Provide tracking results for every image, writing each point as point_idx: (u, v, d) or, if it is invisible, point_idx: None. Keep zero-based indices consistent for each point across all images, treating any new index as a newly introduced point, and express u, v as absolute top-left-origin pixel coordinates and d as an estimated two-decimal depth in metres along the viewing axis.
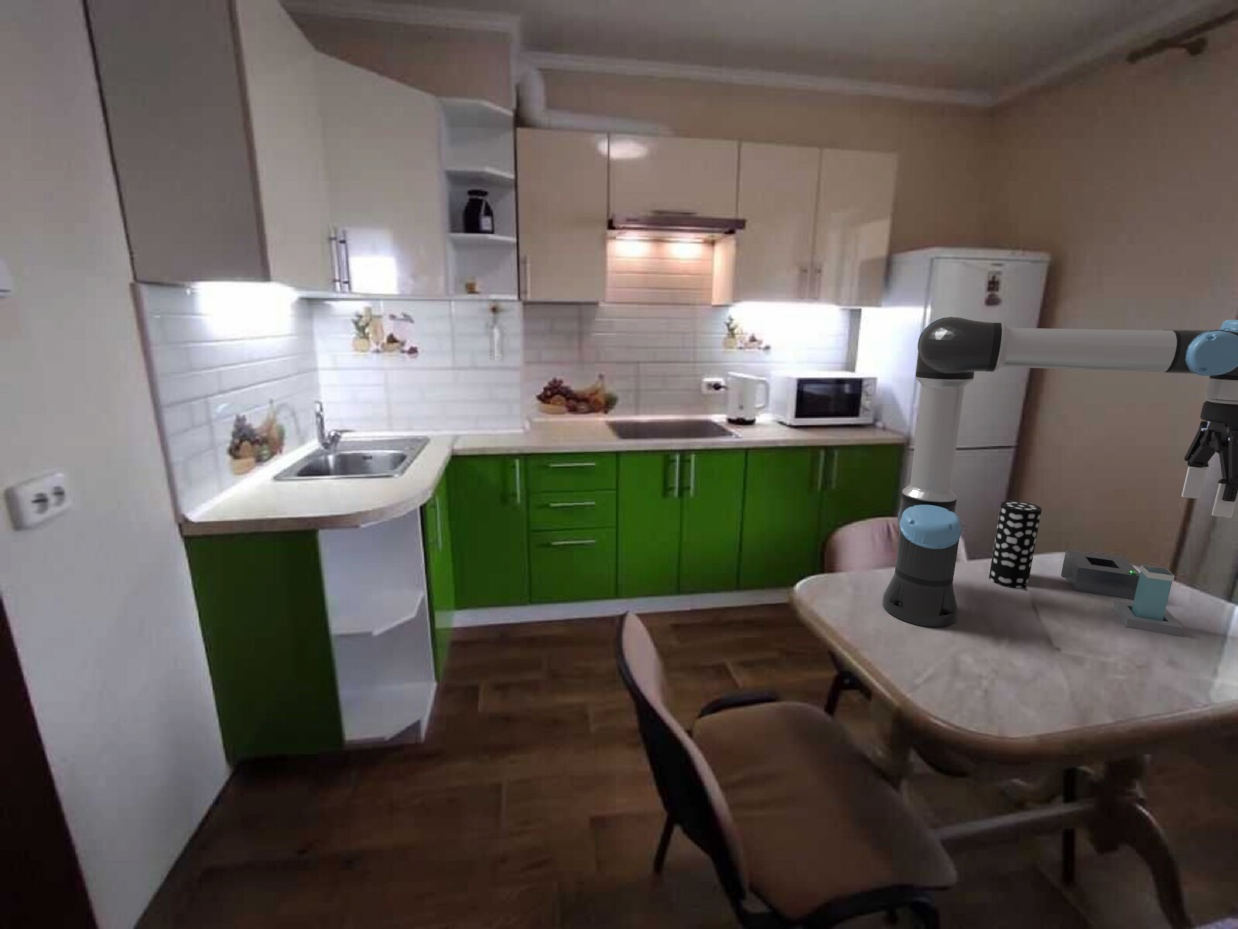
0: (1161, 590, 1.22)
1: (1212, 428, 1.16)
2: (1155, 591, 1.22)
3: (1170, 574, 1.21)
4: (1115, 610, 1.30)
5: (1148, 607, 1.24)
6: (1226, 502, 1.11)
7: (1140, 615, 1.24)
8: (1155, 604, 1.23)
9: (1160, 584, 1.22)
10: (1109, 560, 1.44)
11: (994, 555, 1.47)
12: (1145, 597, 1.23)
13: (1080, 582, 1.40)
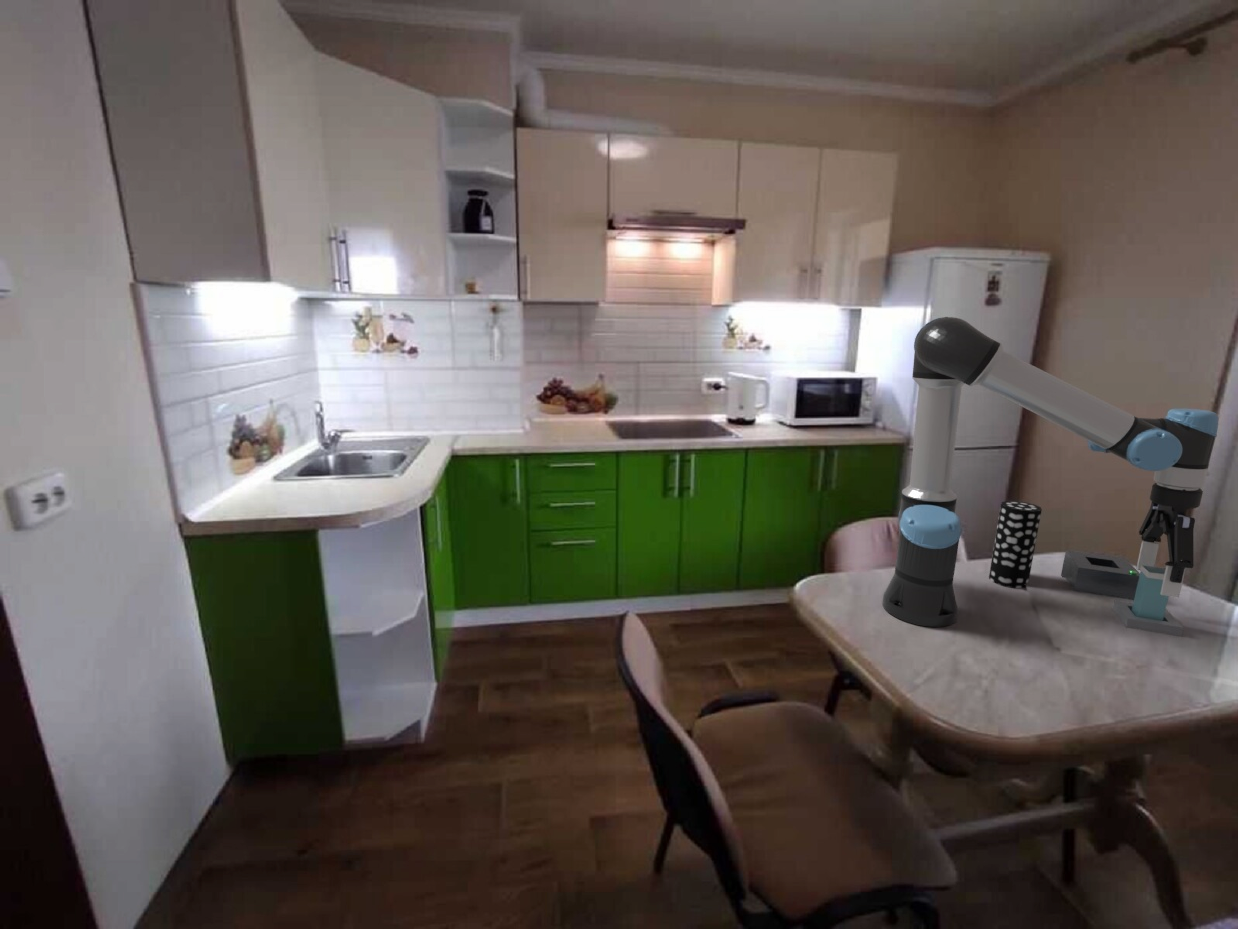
0: None
1: (1161, 509, 1.22)
2: (1155, 591, 1.22)
3: None
4: (1115, 610, 1.30)
5: (1148, 607, 1.24)
6: (1173, 583, 1.17)
7: (1140, 615, 1.24)
8: (1155, 604, 1.23)
9: (1160, 584, 1.22)
10: (1109, 560, 1.44)
11: (994, 555, 1.47)
12: (1145, 597, 1.23)
13: (1080, 582, 1.40)
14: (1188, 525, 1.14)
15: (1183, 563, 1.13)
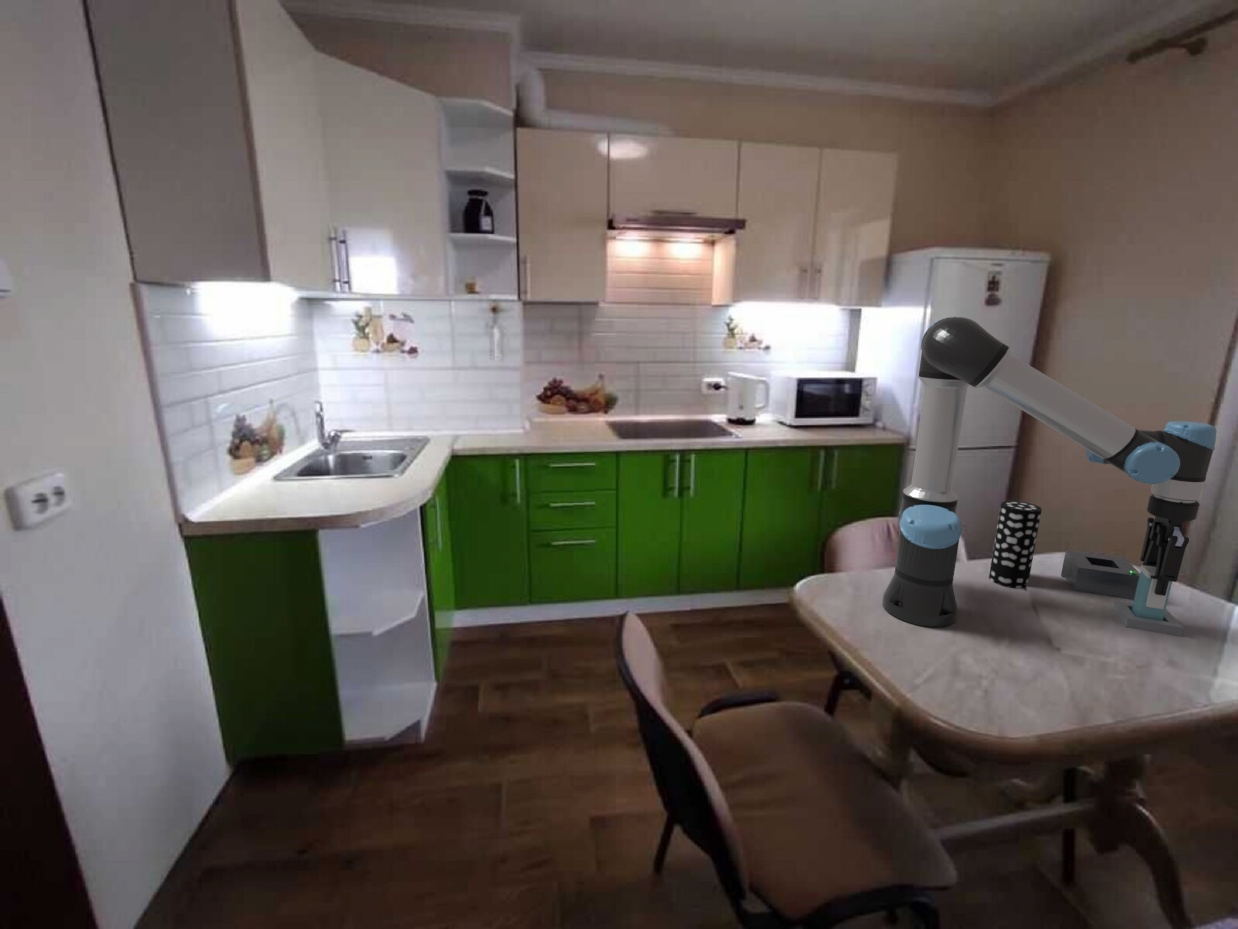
0: None
1: (1157, 521, 1.23)
2: None
3: None
4: (1115, 610, 1.30)
5: (1148, 607, 1.24)
6: (1158, 595, 1.22)
7: (1140, 615, 1.24)
8: None
9: None
10: (1109, 560, 1.44)
11: (994, 555, 1.47)
12: (1145, 597, 1.23)
13: (1080, 582, 1.40)
14: (1181, 544, 1.16)
15: (1167, 578, 1.18)
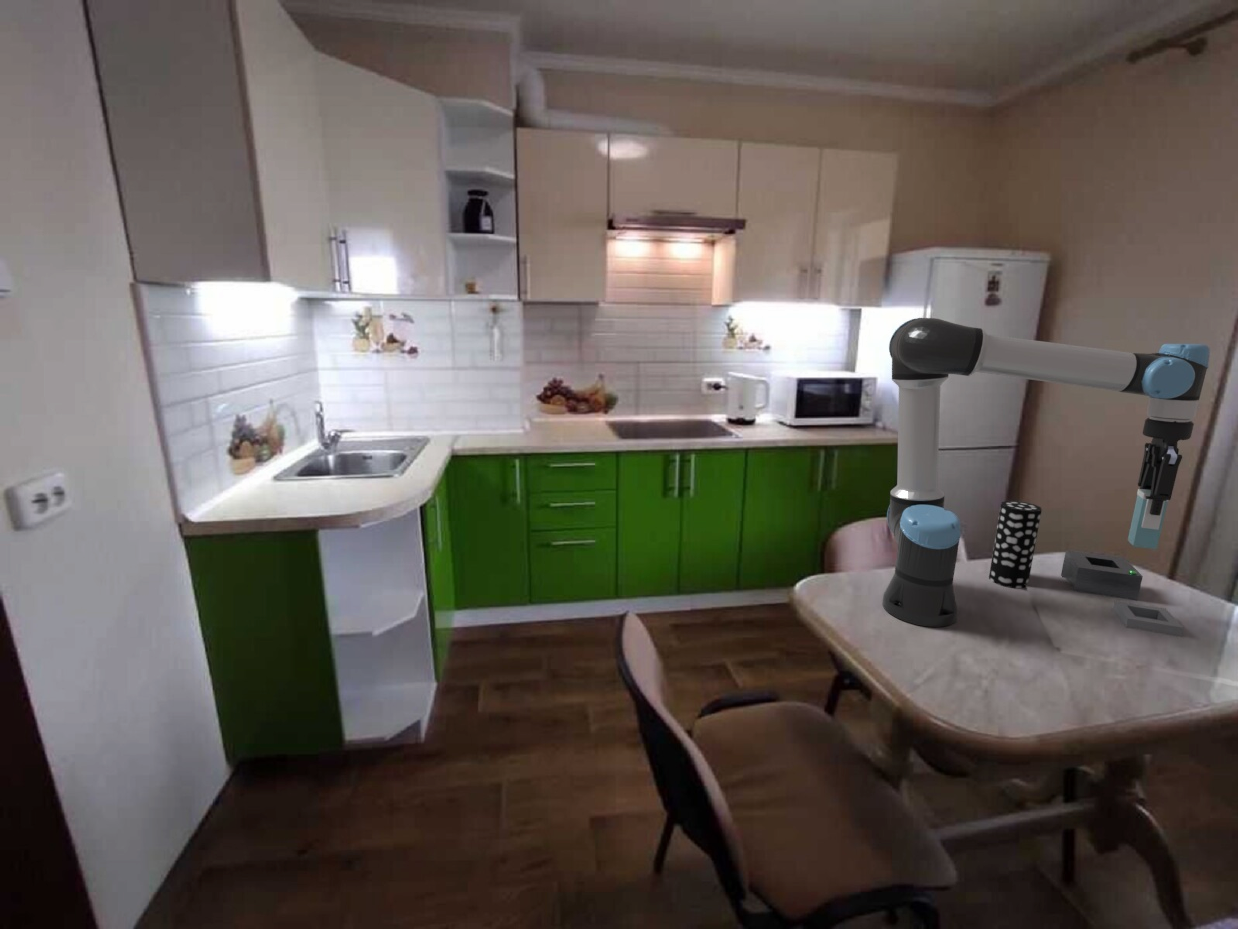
0: None
1: (1153, 444, 1.26)
2: None
3: None
4: (1115, 610, 1.30)
5: (1144, 529, 1.26)
6: (1153, 515, 1.25)
7: (1136, 537, 1.27)
8: None
9: None
10: (1109, 560, 1.44)
11: (994, 555, 1.47)
12: (1141, 519, 1.26)
13: (1080, 582, 1.40)
14: (1174, 462, 1.19)
15: (1161, 496, 1.21)
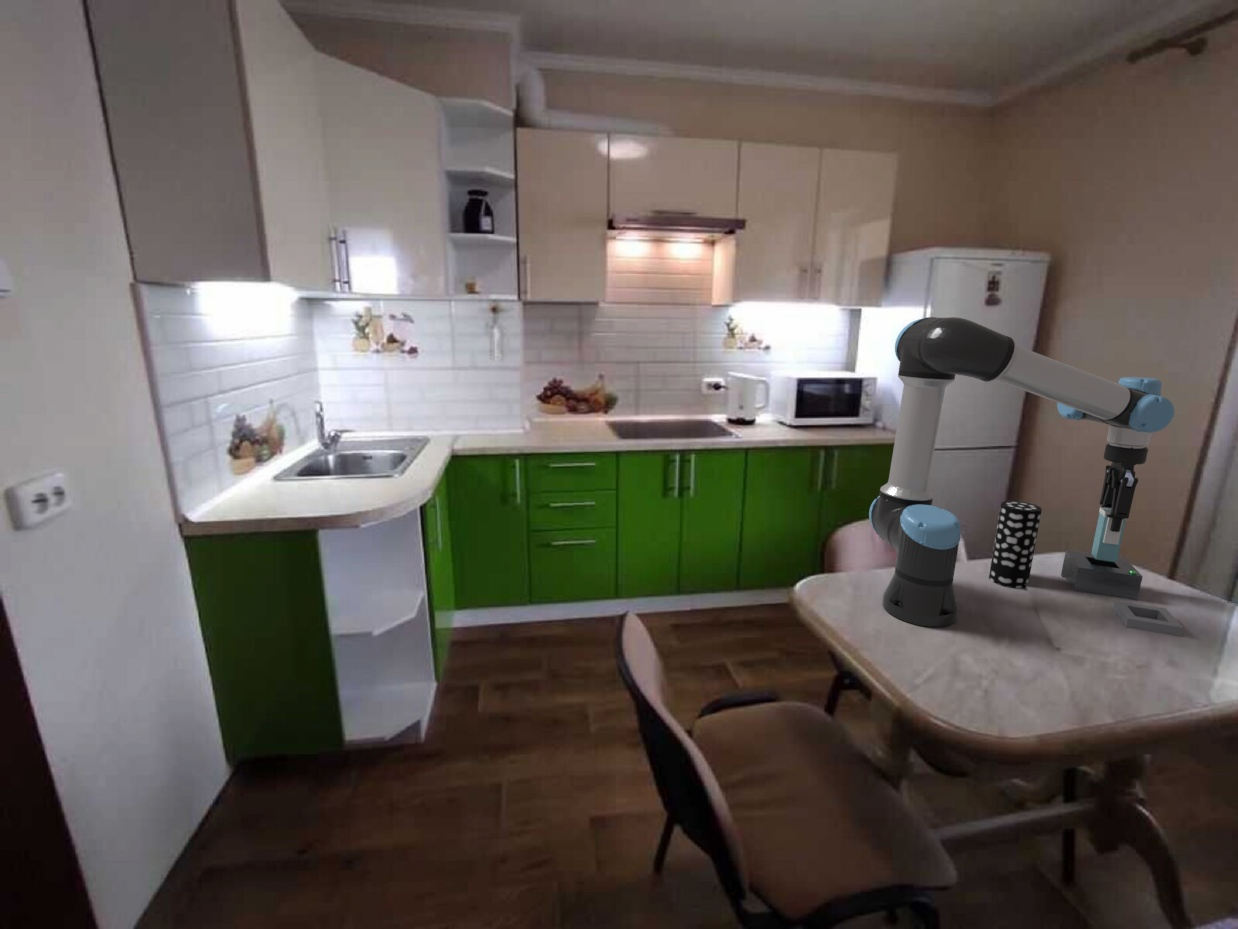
0: None
1: (1113, 467, 1.39)
2: None
3: None
4: (1115, 610, 1.30)
5: (1105, 543, 1.39)
6: (1113, 532, 1.37)
7: (1099, 551, 1.40)
8: None
9: None
10: None
11: (994, 555, 1.47)
12: (1102, 535, 1.39)
13: (1080, 582, 1.40)
14: (1131, 485, 1.31)
15: (1120, 515, 1.34)
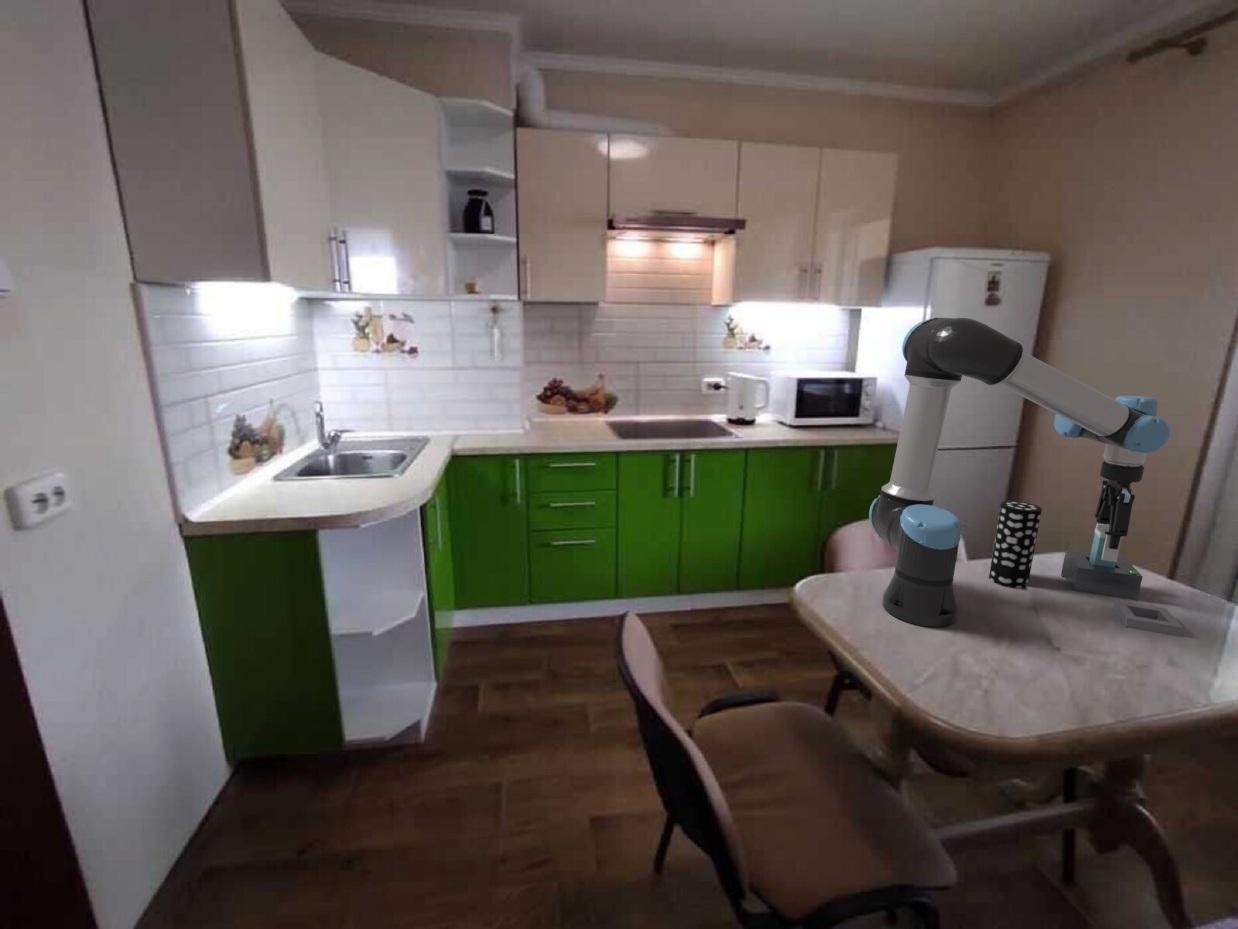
0: None
1: (1109, 484, 1.40)
2: None
3: None
4: (1115, 610, 1.30)
5: (1100, 564, 1.41)
6: (1112, 549, 1.37)
7: None
8: (1107, 561, 1.40)
9: None
10: None
11: (994, 555, 1.47)
12: (1098, 555, 1.40)
13: (1080, 582, 1.40)
14: (1128, 501, 1.32)
15: (1119, 533, 1.34)
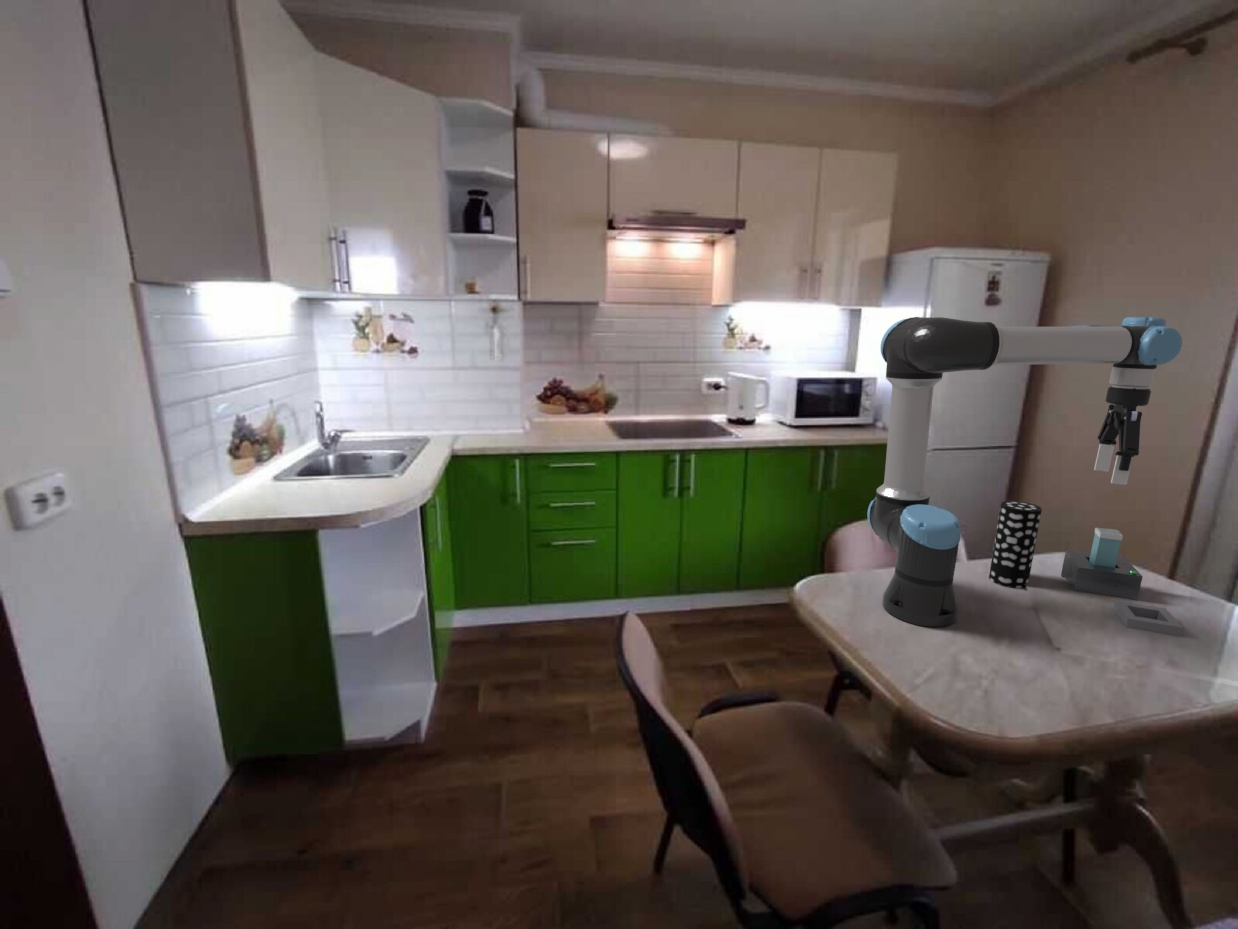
0: (1111, 549, 1.39)
1: (1115, 410, 1.36)
2: (1106, 549, 1.39)
3: (1119, 534, 1.38)
4: (1115, 610, 1.30)
5: (1100, 564, 1.41)
6: (1122, 471, 1.31)
7: None
8: (1107, 561, 1.40)
9: (1111, 543, 1.39)
10: None
11: (994, 555, 1.47)
12: (1098, 555, 1.40)
13: (1080, 582, 1.40)
14: (1136, 418, 1.28)
15: (1130, 451, 1.27)
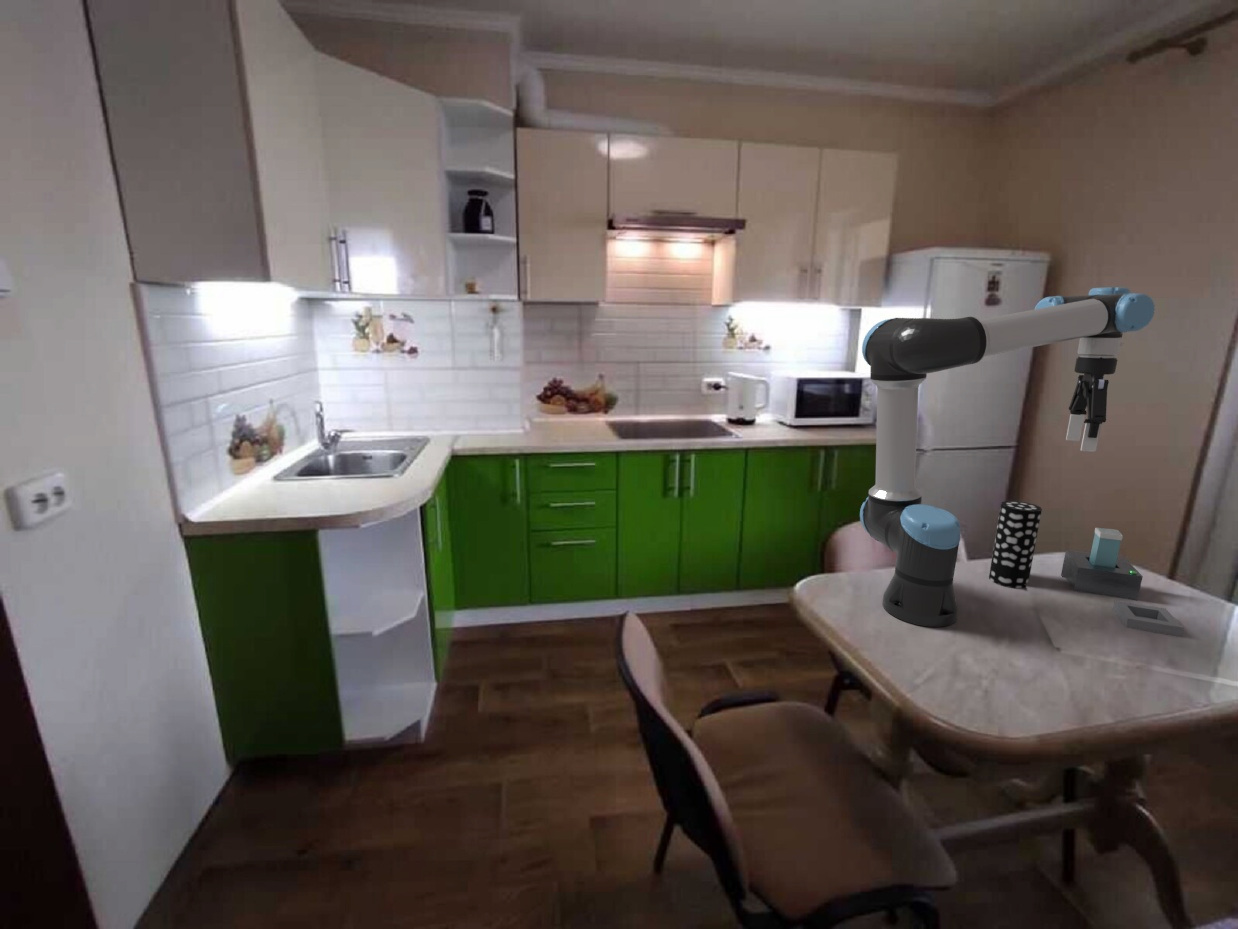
0: (1111, 549, 1.39)
1: (1084, 379, 1.40)
2: (1106, 549, 1.39)
3: (1119, 534, 1.38)
4: (1115, 610, 1.30)
5: (1100, 564, 1.41)
6: (1091, 439, 1.34)
7: None
8: (1107, 561, 1.40)
9: (1111, 543, 1.39)
10: None
11: (994, 555, 1.47)
12: (1098, 555, 1.40)
13: (1080, 582, 1.40)
14: (1103, 386, 1.32)
15: (1097, 418, 1.31)
